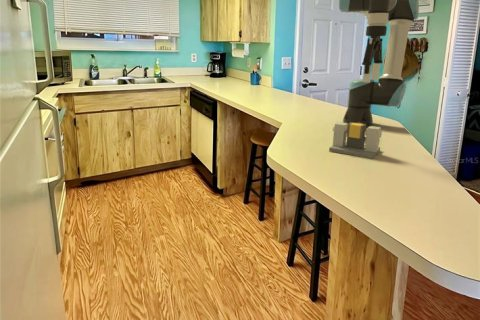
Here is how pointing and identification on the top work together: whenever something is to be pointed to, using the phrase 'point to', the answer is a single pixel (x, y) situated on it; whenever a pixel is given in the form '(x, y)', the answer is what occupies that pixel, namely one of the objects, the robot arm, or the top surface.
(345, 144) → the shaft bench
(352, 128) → the box
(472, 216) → the top surface
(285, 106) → the top surface
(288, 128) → the top surface
